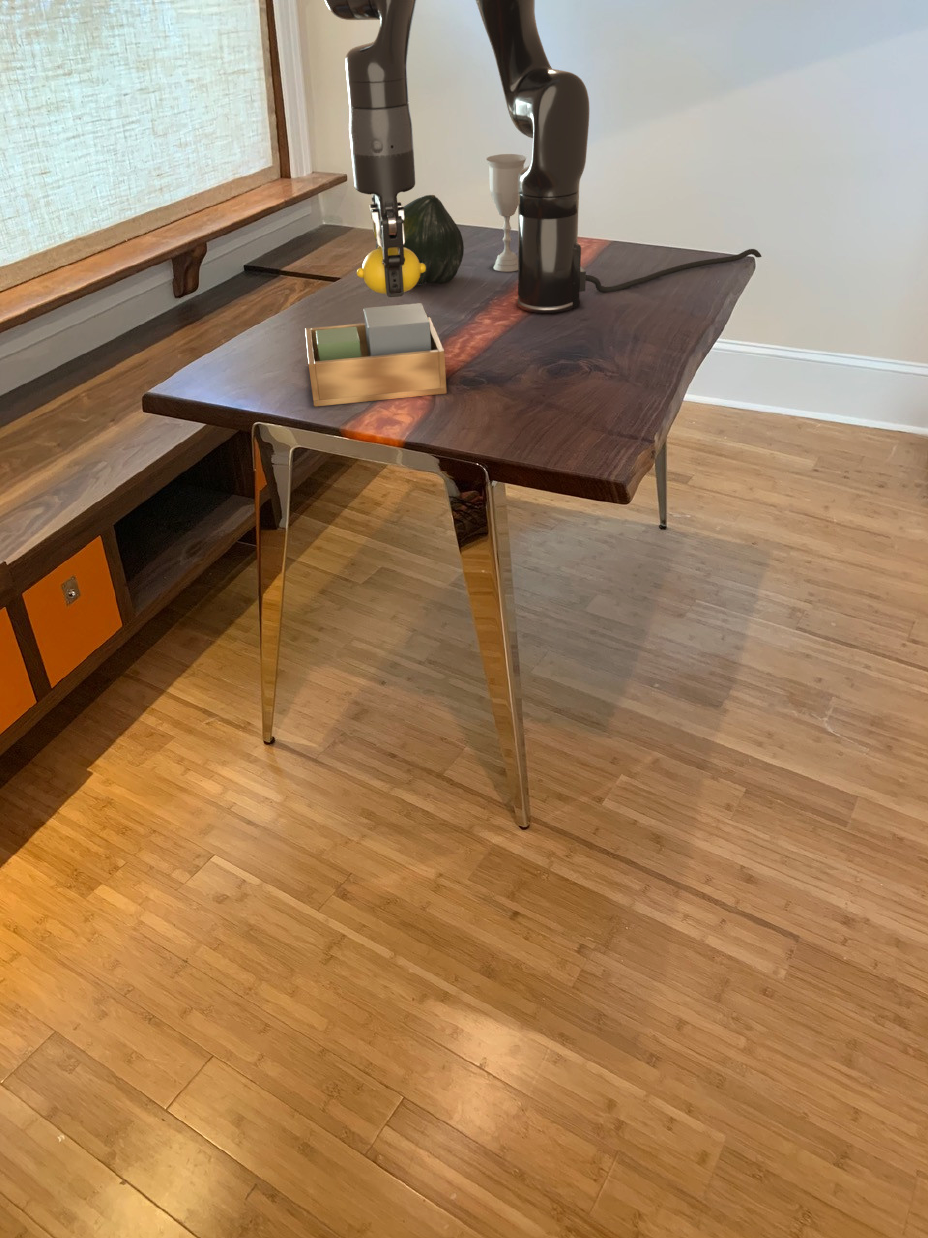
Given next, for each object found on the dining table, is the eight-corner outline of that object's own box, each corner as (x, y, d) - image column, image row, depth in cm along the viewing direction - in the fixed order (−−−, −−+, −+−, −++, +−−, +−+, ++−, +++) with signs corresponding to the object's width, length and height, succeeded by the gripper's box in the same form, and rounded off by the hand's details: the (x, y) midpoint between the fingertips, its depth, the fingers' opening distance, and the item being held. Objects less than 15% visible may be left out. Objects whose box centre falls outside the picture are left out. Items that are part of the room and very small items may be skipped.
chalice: (526, 272, 168) (527, 161, 157) (488, 273, 168) (486, 163, 158) (525, 260, 174) (525, 153, 163) (488, 261, 174) (486, 154, 163)
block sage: (360, 368, 132) (356, 326, 129) (363, 383, 128) (359, 340, 124) (321, 372, 132) (315, 330, 128) (323, 387, 127) (317, 344, 124)
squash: (352, 246, 166) (380, 185, 153) (422, 233, 173) (455, 174, 160) (389, 315, 164) (420, 260, 151) (458, 299, 172) (493, 245, 159)
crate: (432, 356, 137) (430, 316, 134) (446, 393, 126) (444, 351, 123) (310, 368, 135) (305, 328, 132) (314, 406, 124) (308, 364, 121)
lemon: (424, 282, 127) (422, 239, 124) (429, 295, 123) (427, 251, 119) (357, 288, 126) (353, 244, 123) (360, 301, 122) (356, 256, 118)
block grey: (425, 359, 134) (421, 302, 130) (433, 380, 128) (429, 321, 123) (368, 364, 133) (363, 307, 129) (374, 386, 127) (368, 327, 122)
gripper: (420, 155, 109) (428, 303, 119) (406, 134, 120) (414, 270, 130) (355, 160, 108) (368, 308, 118) (347, 138, 119) (360, 274, 129)
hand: (392, 287), depth 124 cm, fingers closed on lemon, 5 cm apart
